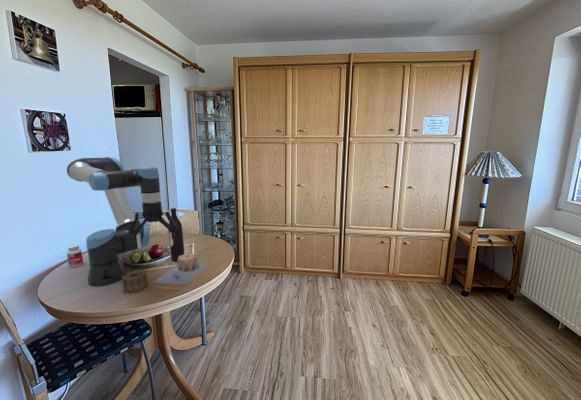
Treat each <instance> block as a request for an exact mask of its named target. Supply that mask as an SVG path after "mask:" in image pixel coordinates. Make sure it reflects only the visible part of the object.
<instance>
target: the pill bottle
mask: <svg viewBox="0 0 581 400" xmlns="http://www.w3.org/2000/svg"><path fill="white" fill-rule="evenodd" d="M82 251H83V250H82V249H81V248H80V245H79V244H72V245H69V246H67V252H66V255H67V256H66V257H67V261H68V266H69V267H70V268H77V267H81V266H83V265H84V258H83V252H82Z"/></svg>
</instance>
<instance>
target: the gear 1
mask: <svg viewBox="0 0 581 400" xmlns="http://www.w3.org/2000/svg"><path fill="white" fill-rule="evenodd" d="M121 278H122V279H121V285H122V289H123V293H131V294H133V293H135V292H138V291H143V290H144V288H145V287H148V286H149V285H148V277H147V272H146V270H134V271H131V272H130V271H129V272H126V273H125V276H122V277H121Z"/></svg>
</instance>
